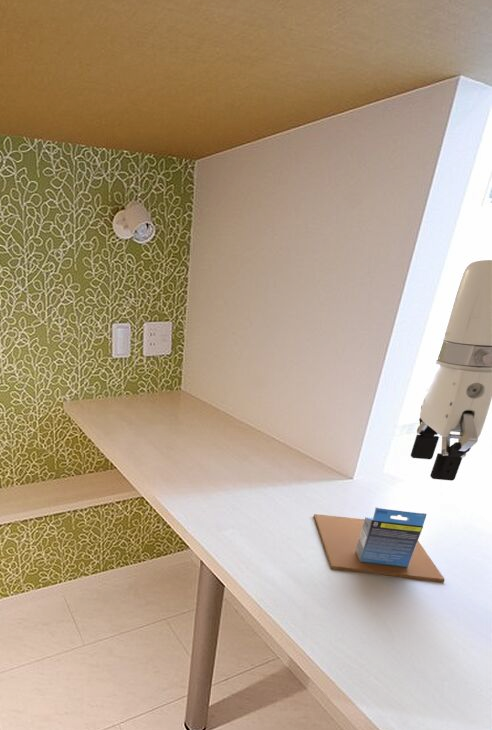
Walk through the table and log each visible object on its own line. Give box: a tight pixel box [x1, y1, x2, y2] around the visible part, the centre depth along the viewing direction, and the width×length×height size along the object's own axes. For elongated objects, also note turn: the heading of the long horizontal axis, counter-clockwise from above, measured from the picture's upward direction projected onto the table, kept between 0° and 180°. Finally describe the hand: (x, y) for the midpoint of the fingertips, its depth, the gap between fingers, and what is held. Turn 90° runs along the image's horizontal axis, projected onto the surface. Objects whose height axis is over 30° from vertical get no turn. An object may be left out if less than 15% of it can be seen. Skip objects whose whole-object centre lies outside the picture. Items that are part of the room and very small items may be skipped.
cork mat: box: [313, 513, 446, 583], centre depth 91 cm, size 20×20×1 cm
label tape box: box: [356, 507, 428, 567], centre depth 83 cm, size 9×4×12 cm, turn 78°
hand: (430, 467), depth 69 cm, fingers open, 7 cm apart
